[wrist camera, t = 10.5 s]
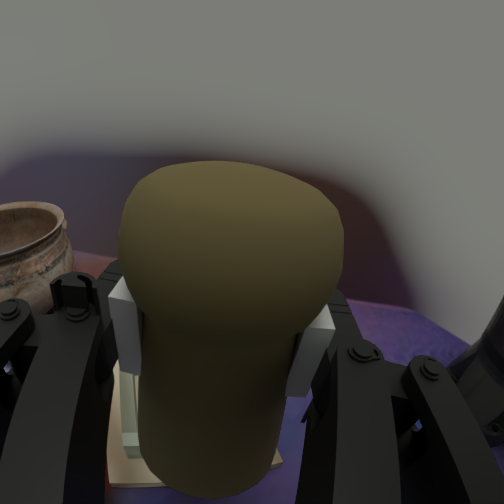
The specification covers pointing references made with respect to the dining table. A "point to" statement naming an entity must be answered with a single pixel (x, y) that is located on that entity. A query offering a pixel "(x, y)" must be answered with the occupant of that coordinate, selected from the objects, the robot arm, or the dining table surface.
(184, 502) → the dining table surface
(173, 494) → the dining table surface
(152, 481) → the condiment caddy
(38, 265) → the cooking pot
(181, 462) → the pepper mill
